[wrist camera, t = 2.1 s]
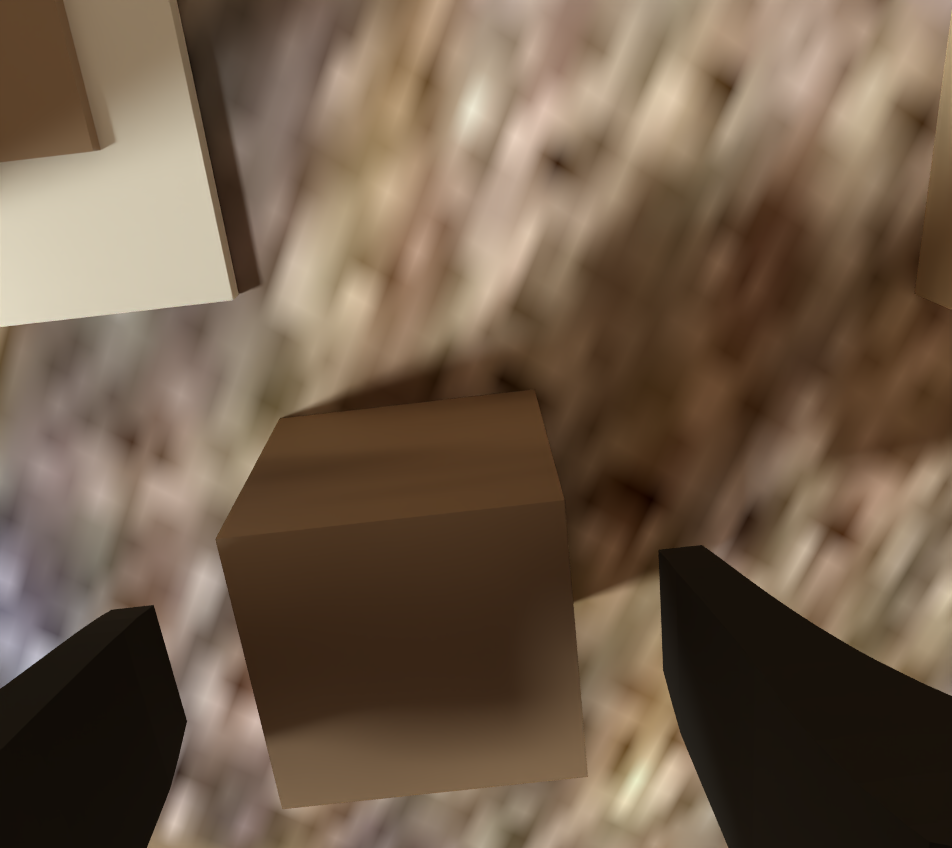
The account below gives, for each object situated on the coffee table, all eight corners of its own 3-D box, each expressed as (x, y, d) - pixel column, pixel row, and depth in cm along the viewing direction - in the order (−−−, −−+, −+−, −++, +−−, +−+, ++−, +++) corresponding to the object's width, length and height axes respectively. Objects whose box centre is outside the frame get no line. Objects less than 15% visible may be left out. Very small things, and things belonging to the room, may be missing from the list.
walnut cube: (554, 606, 17) (587, 776, 13) (324, 631, 17) (282, 809, 13) (534, 388, 15) (564, 500, 11) (280, 417, 15) (215, 539, 11)
